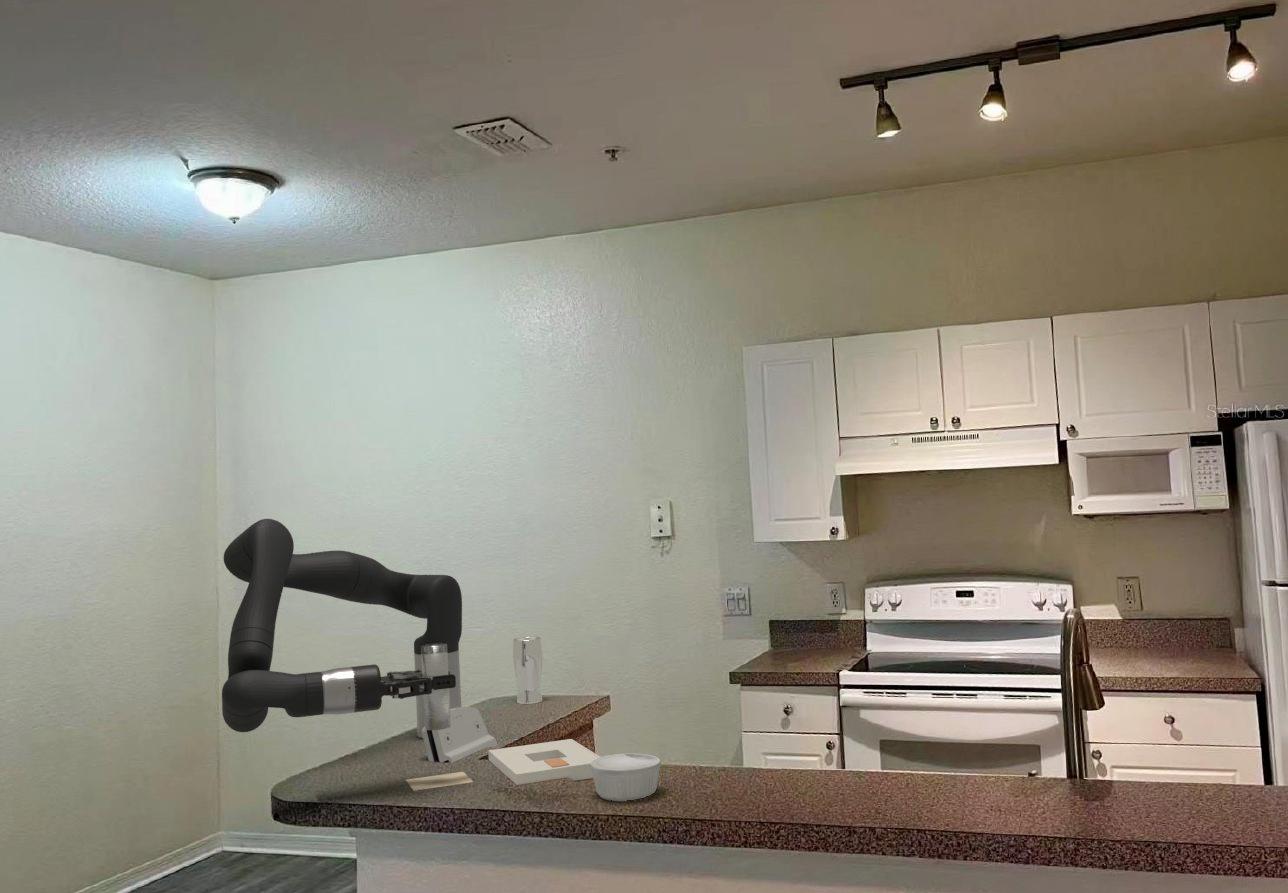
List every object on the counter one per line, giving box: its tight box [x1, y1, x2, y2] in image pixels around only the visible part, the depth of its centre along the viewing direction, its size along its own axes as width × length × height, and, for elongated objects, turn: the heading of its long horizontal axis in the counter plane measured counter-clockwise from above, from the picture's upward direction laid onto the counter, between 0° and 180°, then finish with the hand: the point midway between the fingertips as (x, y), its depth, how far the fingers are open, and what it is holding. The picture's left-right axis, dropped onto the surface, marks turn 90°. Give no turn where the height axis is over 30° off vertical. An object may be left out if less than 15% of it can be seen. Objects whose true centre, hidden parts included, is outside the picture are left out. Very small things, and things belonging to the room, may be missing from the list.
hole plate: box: [487, 738, 601, 786], centre depth 192 cm, size 20×16×3 cm
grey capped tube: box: [421, 643, 451, 730], centre depth 185 cm, size 4×4×14 cm
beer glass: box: [512, 636, 543, 705], centre depth 258 cm, size 7×7×15 cm
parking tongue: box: [405, 771, 474, 792], centre depth 185 cm, size 8×10×1 cm
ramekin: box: [590, 752, 662, 802], centre depth 174 cm, size 11×11×5 cm
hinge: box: [422, 706, 499, 763], centre depth 206 cm, size 17×5×10 cm, turn 157°
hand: (451, 678), depth 186 cm, fingers closed on grey capped tube, 4 cm apart
